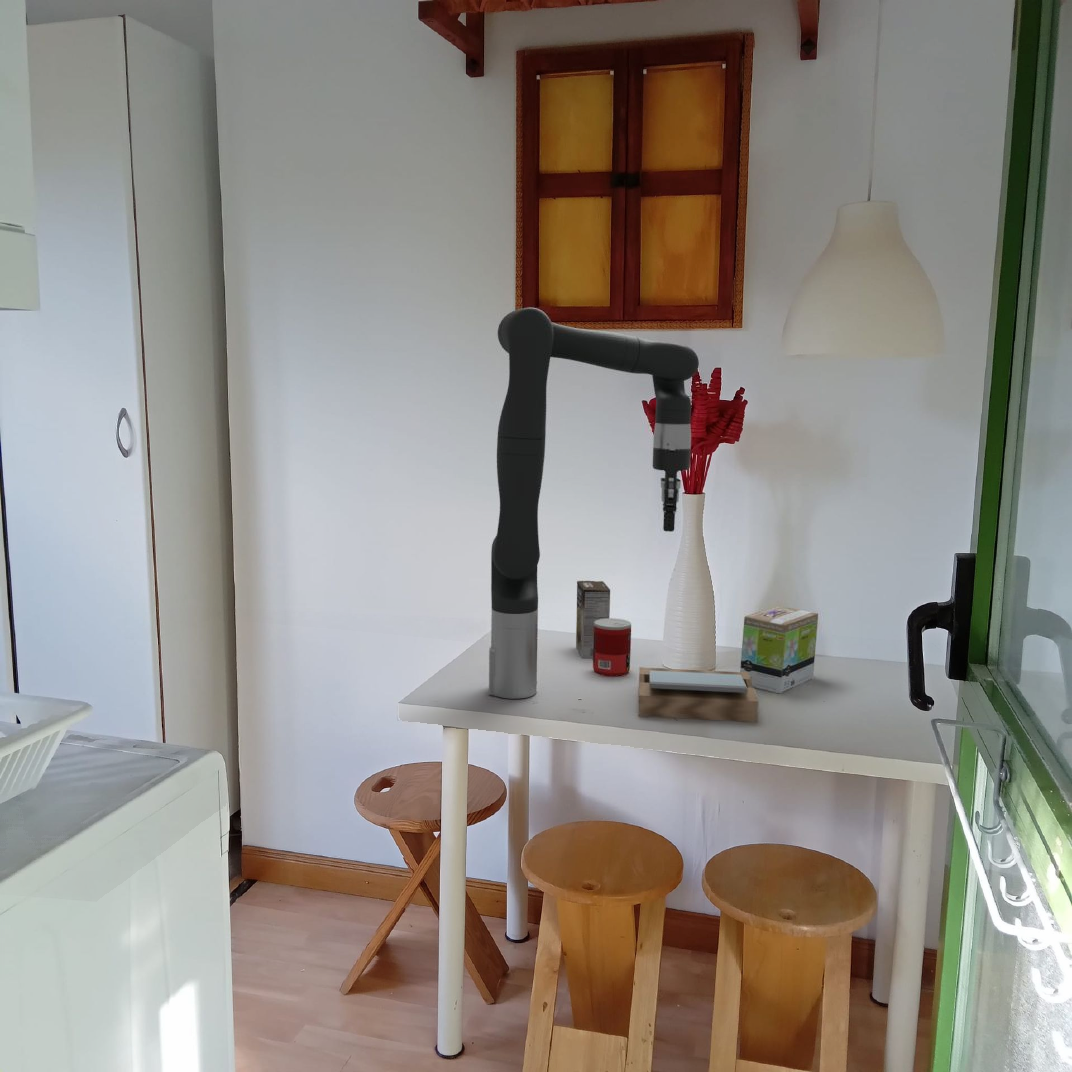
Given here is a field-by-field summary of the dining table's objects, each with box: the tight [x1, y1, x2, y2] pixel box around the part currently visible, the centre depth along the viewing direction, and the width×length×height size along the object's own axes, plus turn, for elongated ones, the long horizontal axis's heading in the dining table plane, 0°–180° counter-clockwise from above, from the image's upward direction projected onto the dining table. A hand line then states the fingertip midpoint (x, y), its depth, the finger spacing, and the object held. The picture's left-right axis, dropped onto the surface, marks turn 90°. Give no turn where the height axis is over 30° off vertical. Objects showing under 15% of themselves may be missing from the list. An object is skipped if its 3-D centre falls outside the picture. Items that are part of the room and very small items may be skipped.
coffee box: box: [575, 580, 611, 659], centre depth 224 cm, size 9×6×16 cm
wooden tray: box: [637, 667, 759, 723], centre depth 191 cm, size 22×18×4 cm
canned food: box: [592, 617, 632, 678], centre depth 210 cm, size 8×8×11 cm
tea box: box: [739, 605, 819, 694], centre depth 205 cm, size 15×10×15 cm
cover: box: [649, 670, 747, 693], centre depth 188 cm, size 18×13×1 cm
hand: (668, 530), depth 199 cm, fingers closed
